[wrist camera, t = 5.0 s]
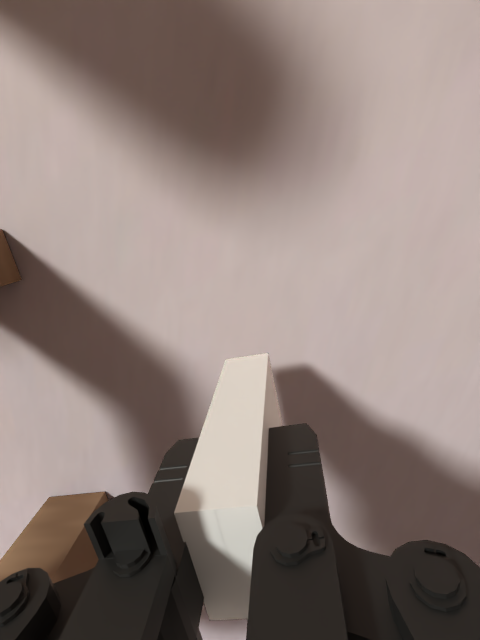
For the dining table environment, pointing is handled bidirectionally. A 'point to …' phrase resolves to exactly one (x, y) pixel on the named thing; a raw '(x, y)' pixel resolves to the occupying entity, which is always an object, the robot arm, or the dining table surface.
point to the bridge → (51, 509)
